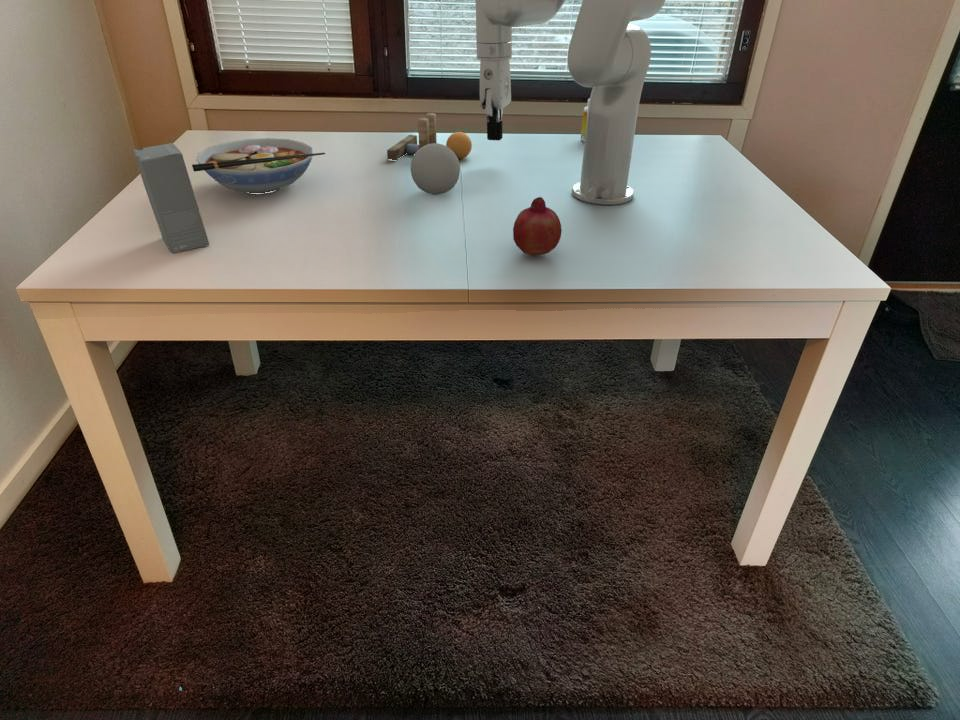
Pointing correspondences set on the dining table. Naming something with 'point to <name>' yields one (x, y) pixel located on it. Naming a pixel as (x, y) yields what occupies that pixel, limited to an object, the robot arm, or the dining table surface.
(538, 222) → the fruit
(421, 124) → the pin
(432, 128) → the pin
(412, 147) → the front pin
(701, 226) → the dining table surface
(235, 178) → the ramen bowl
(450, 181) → the ball
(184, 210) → the skincare box
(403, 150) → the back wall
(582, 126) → the supplement bottle
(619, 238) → the dining table surface
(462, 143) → the orange ball
